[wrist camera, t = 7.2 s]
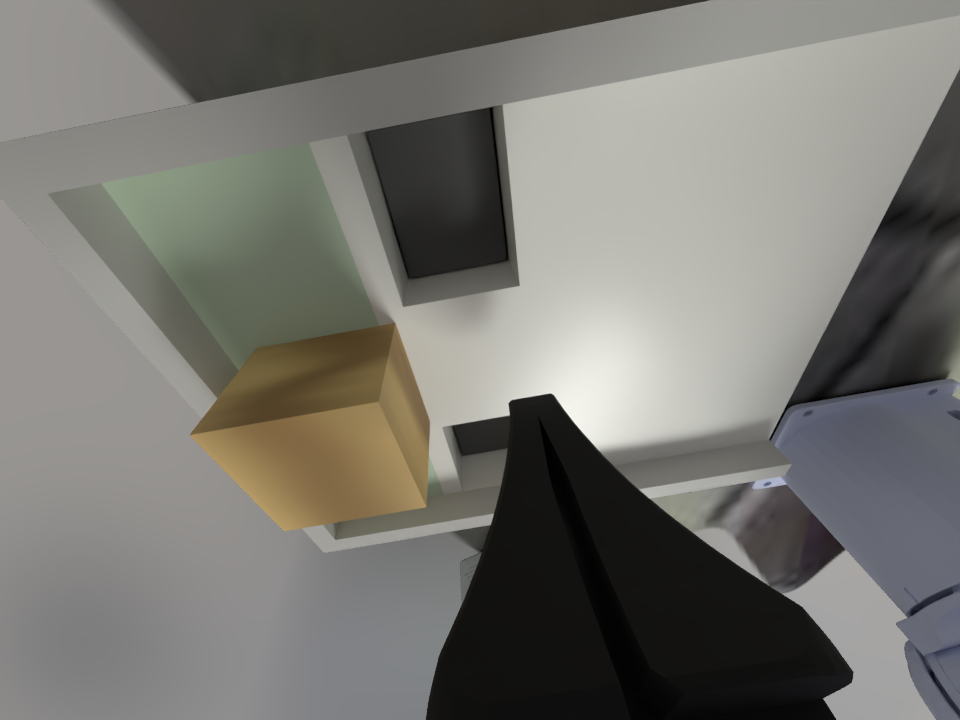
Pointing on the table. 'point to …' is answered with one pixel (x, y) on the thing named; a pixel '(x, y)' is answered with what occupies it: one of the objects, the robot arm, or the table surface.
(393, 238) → the trap box
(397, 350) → the ochre block
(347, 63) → the table surface
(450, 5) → the table surface
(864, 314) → the table surface
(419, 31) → the table surface
